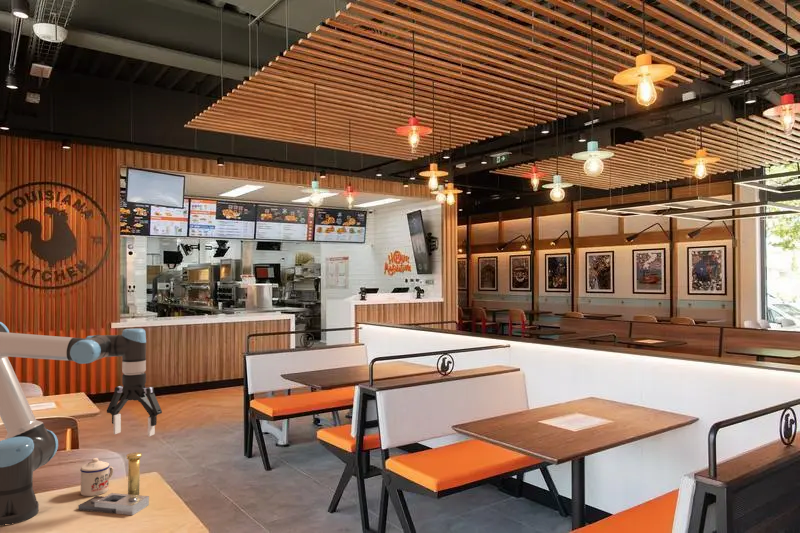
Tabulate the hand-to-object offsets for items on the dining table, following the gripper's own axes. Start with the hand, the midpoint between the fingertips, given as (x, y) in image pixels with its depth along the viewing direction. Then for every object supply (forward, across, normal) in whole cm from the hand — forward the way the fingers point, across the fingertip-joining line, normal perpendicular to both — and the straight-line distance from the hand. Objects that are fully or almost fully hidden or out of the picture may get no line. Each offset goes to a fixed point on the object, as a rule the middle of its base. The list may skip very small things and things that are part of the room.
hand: (134, 434), depth 195 cm
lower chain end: (+21, +2, +11) cm, 24 cm away
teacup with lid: (+21, +15, -1) cm, 26 cm away
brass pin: (+21, 0, 0) cm, 21 cm away
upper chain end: (+21, -4, +11) cm, 24 cm away
